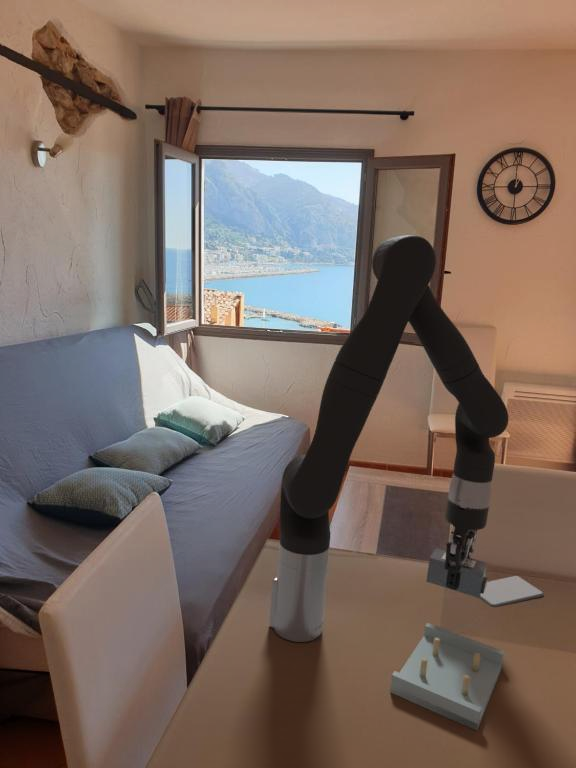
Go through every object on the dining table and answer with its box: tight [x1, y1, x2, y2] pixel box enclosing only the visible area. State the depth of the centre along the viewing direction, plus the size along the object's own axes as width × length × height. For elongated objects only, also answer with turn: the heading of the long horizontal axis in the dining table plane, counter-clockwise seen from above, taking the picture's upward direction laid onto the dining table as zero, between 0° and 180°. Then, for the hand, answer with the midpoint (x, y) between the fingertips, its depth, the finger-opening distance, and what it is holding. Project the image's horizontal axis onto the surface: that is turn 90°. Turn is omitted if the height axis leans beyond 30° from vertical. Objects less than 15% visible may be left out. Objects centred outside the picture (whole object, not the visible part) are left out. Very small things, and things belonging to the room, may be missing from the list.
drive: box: [426, 547, 488, 599], centre depth 113 cm, size 10×5×5 cm, turn 63°
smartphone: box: [479, 575, 544, 607], centre depth 130 cm, size 8×1×15 cm
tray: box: [389, 622, 505, 731], centre depth 100 cm, size 14×18×4 cm
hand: (456, 581), depth 114 cm, fingers closed on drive, 5 cm apart
